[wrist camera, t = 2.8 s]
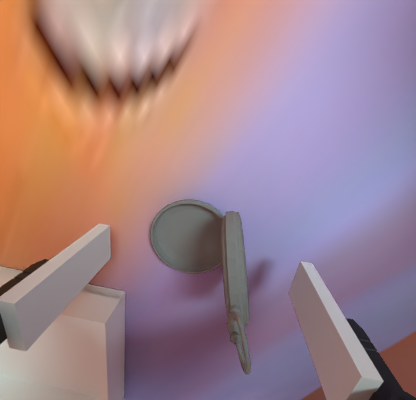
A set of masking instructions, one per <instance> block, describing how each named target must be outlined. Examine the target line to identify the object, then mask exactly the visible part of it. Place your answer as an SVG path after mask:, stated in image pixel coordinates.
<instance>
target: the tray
mask: <svg viewBox="0 0 416 400" xmlns="http://www.w3.org/2000/svg"><path fill="white" fill-rule="evenodd" d="M22 272H23V271H22V270H17V269H12V268H7V267H2V266H0V287H1V286H2V285H4V284H5V283H7V282H8V281H10V280H11V279H14V277H15V276H17V275H18V274H20V273H22ZM124 395H125V291H120V290H115V289H110V288H105V287H100V286H96V285H91V284H87V285H86V286H85V287H84V288H83V289H82V290H81V292H80V293H79V294H78V295H77V296H76V297H75V298H74V299H73V300H72V301H71V303H70V304H69V305H68V306H67V307H66V308H65V309H64V310H63V311H62V313H61V314H60V315H59V316H58V317H57V318H56V319H55V320H54V321H53V322H52V324H51V325H50V326H49V327H48V328H47V329H46V330H45V331H44V332H43V333H42V335H41V336H40V337H39V338H38V339H37V340H36V341H35V342H34V343H33V344H32V346H31V347H30V348H29V349H28V350H27V351H21V350H17V349H12V348H9V345H8V341H7V339H6V340H5V341H4V342H3V343H1V344H0V400H124Z"/></svg>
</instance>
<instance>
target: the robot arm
mask: <svg viewBox="0 0 416 400" xmlns="http://www.w3.org/2000/svg"><path fill="white" fill-rule="evenodd" d="M110 259H111V245H110V225H106V224H101V223H99V224H98V225H96V226H95V227H94V228H92V229H91V230H90V231H88V232H87V233H86V234H84V235H83V236H82V237H80V238H79V239H77V240H76V241H75V242H73V243H72V244H71V245H69V246H68V247H67V248H65V249H64V250H63V251H61V252H60V253H58V254H57V255H56V256H54V257H53V258H52V259H50V260H46V259H44V260H42V261H39V262H37V263H35V264H33V265H31V266H30V267H28V268H27V269H25V270H24V271H23V272H22V273H20V274H18V275H17V276H15V277H14V279H11V280H10V281H8V282H7V283H5V284H4V285H2V286H1V287H0V344H1V343H3V342H4V341H5V340H6V339H7V341H8V345H9V348H12V349H17V350H21V351H27V350H28V349H29V348H30V347H31V346H32V344H33V343H34V342H35V341H36V340H37V339H38V338H39V337H40V336H41V335H42V333H43V332H44V331H45V330H46V329H47V328H48V327H49V326H50V325H51V324H52V322H53V321H54V320H55V319H56V318H57V317H58V316H59V315H60V314H61V313H62V311H63V310H64V309H65V308H66V307H67V306H68V305H69V304H70V303H71V301H72V300H73V299H74V298H75V297H76V296H77V295H78V294H79V293H80V292H81V290H82V289H83V288H84V287H85V286H86V285H87V284H88V283H89V282H90V281H91V279H92V278H93V277H94V276H95V275H96V274H97V273H98V272H99V271H100V270H101V268H102V267H103V266H104V265H105V264H106V263H107V262H108V261H109V260H110ZM289 295H290V298H291V301H292V304H293V307H294V309H295V312H296V315H297V318H298V321H299V324H300V326H301V329H302V332H303V335H304V338H305V340H306V343H307V346H308V349H309V352H310V355H311V357H312V360H313V363H314V366H315V369H316V371H317V374H318V377H319V380H320V383H321V386H322V388H323V391H324V393H325V397H326V400H416V398H415V397H413V396H411V395H410V394H408V393H407V392H404V391H403V390H402V388H401V386H400V385H399V383H398V382H397V380H396V379H395V377H394V376H393V374H392V373H391V371H390V370H389V368H388V367H387V365H386V364H385V362H384V361H383V359H382V358H381V356H380V354H379V353H378V352H377V350H376V348H375V347H374V345H373V344H372V343H371V342H370V339H369V338H368V336H367V335H366V333H365V332H364V330H363V329H362V328H361V327H360V326H359V325H358V324H357V323H356V322H355V321H354V320H352V319H347V318H345V317H344V315H343V313H342V312H341V310H340V308H339V307H338V305H337V303H336V302H335V300H334V298H333V297H332V295H331V293H330V292H329V290H328V288H327V287H326V285H325V284H324V282H323V280H322V279H321V277H320V275H319V274H318V272H317V270H316V269H315V267H314V265H313V264H312V263H308V262H303V261H301V262H300V264H299V267H298V269H297V272H296V275H295V277H294V280H293V283H292V285H291V288H290V291H289Z"/></svg>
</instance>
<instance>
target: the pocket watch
mask: <svg viewBox="0 0 416 400" xmlns="http://www.w3.org/2000/svg"><path fill="white" fill-rule="evenodd" d="M150 238H151V243H152V246H153V248H154V251H155V252H156V254H157V255H158V257H159V258H160V259H161V260H162V261H163V262H164V263H166V264H167V265H168V266H169V267H172V268H174V269H176V270H178V271H181V272H184V273H189V274H199V273H204V272H208V271H211V270H213V269H215V268H217V267H218V266H220V265H221V264H222V269H223V283H224V293H225V303H226V309H227V314H228V317H229V319H228V322H227V329H228V332H229V334H230V341H231V342H233V343H234V344H236V347H237V351H238V355H239V358H240V362H241V366H242V369H243V371H244V372H245V374H248V375H249V373H250V369H251V363H250V355H249V349H248V343H247V339H246V335H245V330H244V325H248V323H249V298H248V282H247V270H246V258H245V248H244V238H243V231H242V223H241V218H240V215H239V212H234V211H230V212H226V215H225V216H223V215H222V214H221V213H220V212H219V211H218V210H217V209H216V208H214V207H213V206H211V205H210V204H207V203H204V202H202V201H198V200H180V201H176V202H173V203H171V204H169V205H167V206H166V207H165V208H164V209H162V210H161V211H160V212H159V213H158V214H157V215H156V217H155V219H154V220H153V223H152V226H151V231H150ZM241 342H242V345H243V351H244V356H243V352H242V348H241V344H240V343H241ZM244 357H245V360H244Z"/></svg>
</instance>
